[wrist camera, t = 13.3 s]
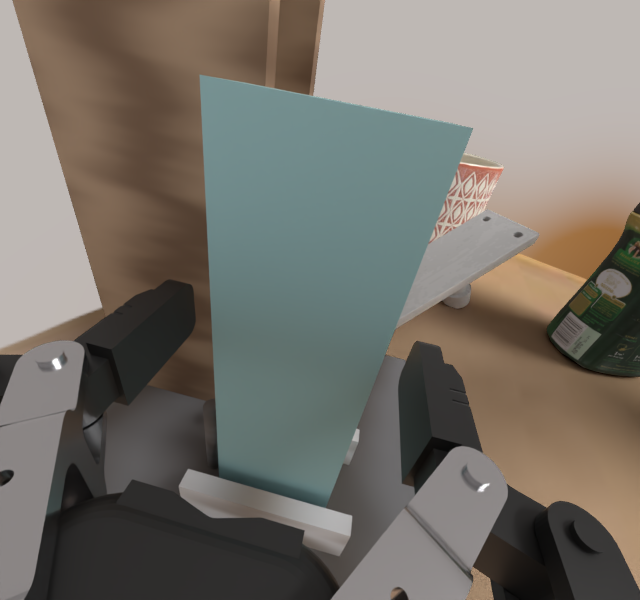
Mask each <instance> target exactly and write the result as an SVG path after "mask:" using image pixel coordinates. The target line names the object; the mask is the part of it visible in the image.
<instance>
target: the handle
mask: <svg viewBox="0 0 640 600" xmlns="http://www.w3.org/2000/svg"><path fill="white" fill-rule="evenodd" d="M538 236H539V233H537V232H535V231H533V230H531V229H529V228H527V227H525V226H523V225H520V224H518V223H516V222H514V221H512V220H510V219H508V218H505V217H503V216H501V215H499V214H497V213H495V212H492V211H490V210H485V211H484V212H482V213H480V214H479V215H477V216H475V217H473V218H472V219H470V220H468V221H467V222H465V223H463V224H462V225H460V226H458V227H457V228H455V229H453V230H452V231H450V232H448V233H447V234H445V235H443V236H441V237H440V238H438V239H436V240H435V241H433V242H431V243H430V244H428V246H427V248H426V251H425V254H424V256H423V259H422V261H421V264H420V266H419V269H418V272H417V274H416V277H415V279H414V282H413V284H412V287H411V290H410V292H409V295H408V297H407V300H406V302H405V305H404V308H403V310H402V313H401V315H400V318H399V320H398V323H397V326H396V328H395V329H397V328H398V327H400V326H401V325H403V324H405V323H406V322H408V321H409V320H411V319H413V318H414V317H416V316H418V315H419V314H421V313H422V312H424V311H426V310H427V309H429V308H431V307H432V306H434V305H435V304H437V303H439V302H440V301H443V302H444V303H445V304H446V305H448V306H450V307H452V308H456V309H458V308H462V307H465V306H466V305H467V304H468V303H469V301H470V294H471V286H470V284H469V283H471V282H473V281H474V280H476V279H478V278H479V277H481V276H482V275H484V274H486V273H487V272H489V271H491V270H492V269H494V268H495V267H497V266H499V265H500V264H502V263H504V262H505V261H507V260H508V259H510V258H512V257H513V256H515V255H517V254H518V253H520V252H521V251H523V250H525V249H526V248H528V247H530V246H531V245H533V244H534V243H535V241H536V240H537V238H538Z"/></svg>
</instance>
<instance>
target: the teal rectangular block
mask: <svg viewBox="0 0 640 600" xmlns="http://www.w3.org/2000/svg"><path fill="white" fill-rule="evenodd" d="M200 94H201V115H202V135H203V156H204V176H205V197H206V218H207V238H208V259H209V279H210V300H211V320H212V341H213V362H214V382H215V403H216V423H217V444H218V464H219V478H222V479H225V480H229V481H232V482H236V483H239V484H243V485H246V486H250V487H253V488H257V489H260V490H264V491H267V492H271V493H274V494H278V495H281V496H284V497H288V498H291V499H295V500H298V501H302V502H305V503H309V504H312V505H316V506H319V507H323V508H326V506H327V503H328V501H329V498H330V495H331V493H332V490H333V488H334V485H335V483H336V480H337V477H338V475H339V472H340V470H341V467H342V465H343V462H344V459H345V457H346V454H347V452H348V449H349V447H350V444H351V441H352V439H353V436H354V434H355V431H356V429H357V426H358V423H359V421H360V418H361V416H362V413H363V411H364V408H365V405H366V403H367V400H368V398H369V395H370V393H371V390H372V387H373V385H374V382H375V380H376V377H377V374H378V372H379V369H380V367H381V364H382V362H383V359H384V356H385V354H386V351H387V349H388V346H389V344H390V341H391V338H392V336H393V333H394V331H395V328H396V326H397V323H398V320H399V318H400V315H401V313H402V310H403V308H404V305H405V302H406V300H407V297H408V295H409V292H410V290H411V287H412V284H413V282H414V279H415V277H416V274H417V272H418V269H419V266H420V264H421V261H422V259H423V256H424V254H425V251H426V248H427V246H428V243H429V241H430V238H431V236H432V233H433V230H434V228H435V225H436V223H437V220H438V218H439V215H440V212H441V210H442V207H443V205H444V202H445V200H446V197H447V194H448V192H449V189H450V187H451V184H452V182H453V179H454V176H455V174H456V171H457V169H458V166H459V164H460V161H461V158H462V156H463V153H464V151H465V148H466V145H467V143H468V140H469V138H470V135H471V133H472V130H473V128H469V127H465V126H461V125H457V124H452V123H448V122H443V121H438V120H432V119H427V118H422V117H417V116H412V115H406V114H402V113H396V112H391V111H386V110H381V109H376V108H371V107H366V106H361V105H356V104H351V103H346V102H341V101H335V100H330V99H325V98H320V97H315V96H310V95H305V94H300V93H295V92H290V91H285V90H280V89H275V88H269V87H264V86H259V85H254V84H249V83H244V82H238V81H233V80H227V79H221V78H216V77H210V76H205V75H200Z"/></svg>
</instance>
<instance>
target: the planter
mask: <svg viewBox="0 0 640 600" xmlns="http://www.w3.org/2000/svg"><path fill="white" fill-rule="evenodd" d="M503 169H504V166H503V165H502V164H499V163H497V162H495V161H492V160H489V159H485V158H482V157H479V156H475V155H471V154H468V153H463V156H462V158H461V161H460V164H459V166H458V169H457V171H456V174H455V176H454V179H453V182H452V184H451V187H450V189H449V192H448V194H447V197H446V200H445V202H444V205H443V207H442V210H441V212H440V215H439V218H438V220H437V223H436V225H435V228H434V230H433V233H432V236H431V238H430V241H429V243H428V244H430V243H431V242H433V241H435V240H436V239H438V238H440V237H441V236H443V235H445V234H447V233H448V232H450V231H452V230H453V229H455V228H457V227H458V226H460V225H462V224H463V223H465V222H467V221H468V220H470V219H472V218H473V217H475V216H477V215H479V214H480V213H482V212H483V211H484V209H485V207H486V205H487V202H488V200H489V198H490V196H491V194H492V192H493V190H494V188H495V186H496V183H497V181H498V179H499V177H500V175H501V173H502V171H503Z"/></svg>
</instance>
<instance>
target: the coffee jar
mask: <svg viewBox="0 0 640 600" xmlns="http://www.w3.org/2000/svg"><path fill="white" fill-rule="evenodd" d="M547 333H548V335H549V337H550V340H551V342H552V343H553V344H554V345H555V347H556V348H557V349H558V350H559V351H560V352H561V353H562V354H564V355H566V356H567V357H569V358H570V359H572V360H573V361H575V362H576V363H578V364H579V365H580V366H582V367H584V368H586V369H589V370H592V371H597V372H601V373H607V374H612V375H619V376H629V377H640V203H639V204H638V205H637V206H636V208H635V209H634V211H632V212H631V213H630V215H629V217H628V219H627V222H626V225H625V229H624V232H623V234H622V236H621V238H620V239H619V241H618V243H617V244H616V245H615V247H614V248H613V250H612V251H611V252H610V254H609V255H608V256H607V258H606V259H605V260H604V261H603V262H602V263H601V265H600V266H599V267H598V268H597V269H596V271H595V272H594V273H593V274H592V275H591V277H590V278H589V279H588V280H587V281H586V282H585V284H584V285H583V286H582V287H581V288H580V289H579V290H578V291H577V293H576V294H575V295H574V296H573V297H572V298H571V299H570V300H569V301H568V302H567V304H566V305H565V306H564V307H563V308H562V309H561V310H560V312H559V313H558V314H557V315H556V316H555V318H554V319H553V320H552V321H551V323H550V324H549V325H548V327H547Z"/></svg>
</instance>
